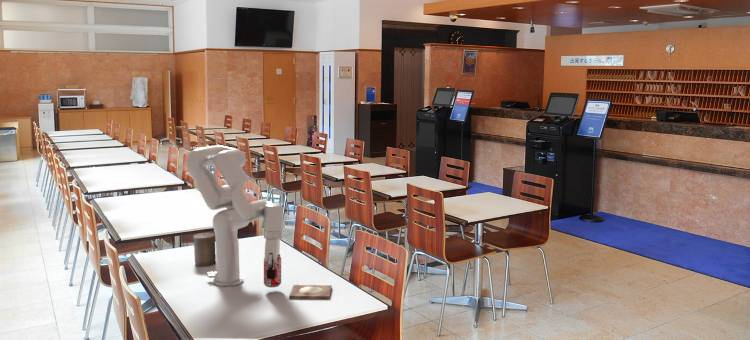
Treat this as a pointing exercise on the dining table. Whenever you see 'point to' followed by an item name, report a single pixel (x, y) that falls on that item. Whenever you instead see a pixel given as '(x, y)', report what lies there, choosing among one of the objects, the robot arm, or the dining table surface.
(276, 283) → the soda can
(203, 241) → the pillar candle
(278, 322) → the dining table surface
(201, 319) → the dining table surface
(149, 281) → the dining table surface
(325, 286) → the board
